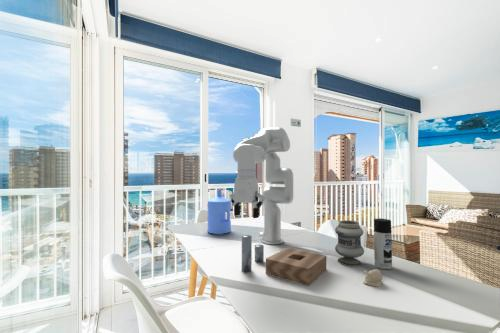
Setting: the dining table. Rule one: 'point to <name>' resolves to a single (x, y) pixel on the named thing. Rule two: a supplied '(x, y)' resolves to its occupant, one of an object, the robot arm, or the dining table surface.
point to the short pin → (259, 253)
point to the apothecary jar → (349, 242)
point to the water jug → (219, 214)
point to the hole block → (296, 265)
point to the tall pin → (246, 253)
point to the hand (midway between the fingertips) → (246, 216)
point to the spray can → (383, 243)
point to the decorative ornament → (373, 278)
